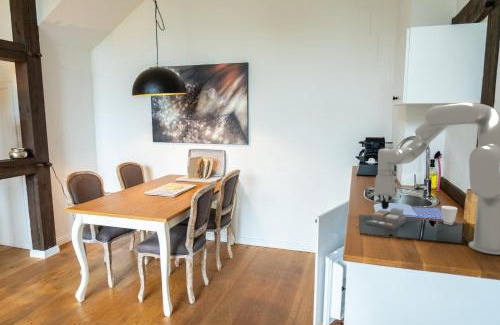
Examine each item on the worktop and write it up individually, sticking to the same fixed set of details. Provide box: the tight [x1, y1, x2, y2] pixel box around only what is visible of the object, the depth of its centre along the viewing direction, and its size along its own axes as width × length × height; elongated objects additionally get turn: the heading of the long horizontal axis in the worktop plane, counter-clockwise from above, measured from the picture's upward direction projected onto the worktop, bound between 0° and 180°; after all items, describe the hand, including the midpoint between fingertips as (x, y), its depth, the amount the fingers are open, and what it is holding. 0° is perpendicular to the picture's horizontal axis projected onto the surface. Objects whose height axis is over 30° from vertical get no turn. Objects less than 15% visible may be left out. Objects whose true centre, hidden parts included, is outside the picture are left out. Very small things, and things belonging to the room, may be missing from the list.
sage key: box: [377, 209, 391, 215], centre depth 165 cm, size 5×5×3 cm
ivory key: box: [386, 214, 399, 219], centre depth 156 cm, size 5×5×3 cm
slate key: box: [390, 207, 404, 217], centre depth 160 cm, size 5×5×3 cm
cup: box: [440, 205, 458, 226], centre depth 160 cm, size 7×10×8 cm
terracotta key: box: [372, 211, 386, 217], centre depth 160 cm, size 5×5×3 cm
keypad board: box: [366, 211, 406, 231], centre depth 159 cm, size 13×17×4 cm
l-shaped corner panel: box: [373, 191, 401, 202], centre depth 199 cm, size 12×12×8 cm
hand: (384, 208), depth 164 cm, fingers closed
